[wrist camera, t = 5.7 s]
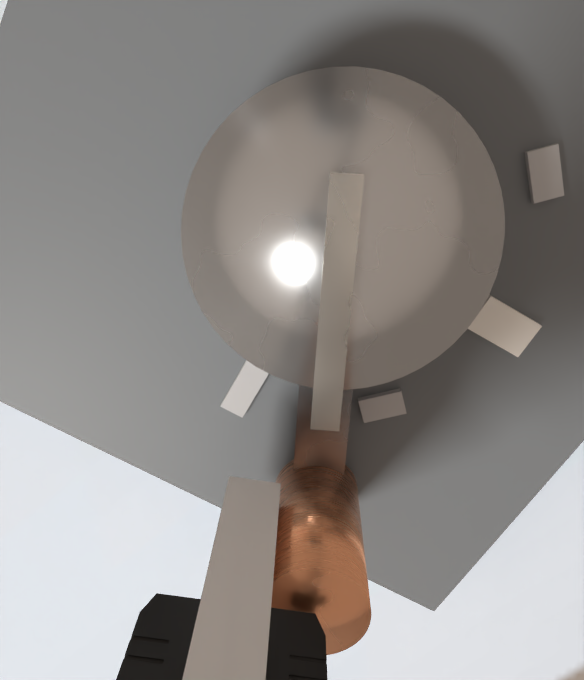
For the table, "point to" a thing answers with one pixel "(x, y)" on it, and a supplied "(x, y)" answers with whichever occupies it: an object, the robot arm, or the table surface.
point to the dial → (339, 282)
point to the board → (183, 309)
